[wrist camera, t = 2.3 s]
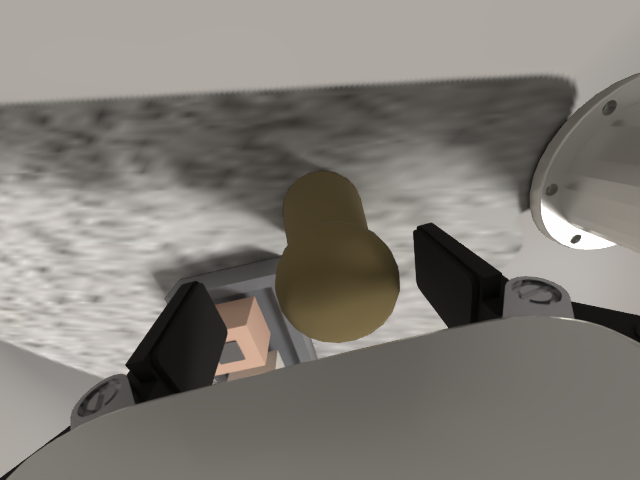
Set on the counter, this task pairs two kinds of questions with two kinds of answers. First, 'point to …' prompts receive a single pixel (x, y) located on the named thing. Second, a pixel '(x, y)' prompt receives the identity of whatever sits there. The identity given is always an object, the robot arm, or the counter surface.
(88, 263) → the counter surface
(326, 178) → the olive rounded piece
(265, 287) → the base
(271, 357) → the key cream
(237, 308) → the peach square block
